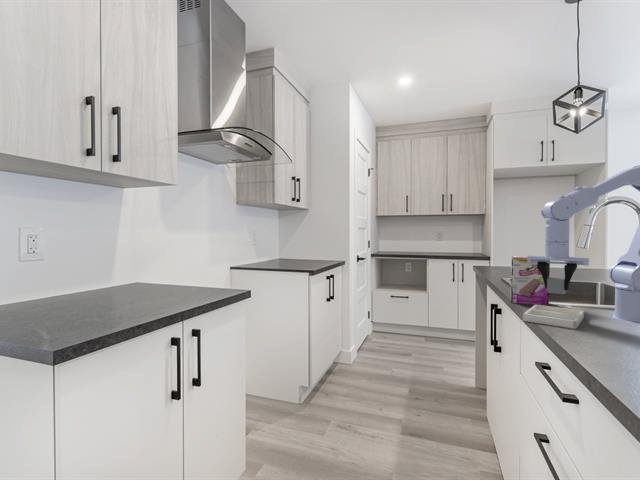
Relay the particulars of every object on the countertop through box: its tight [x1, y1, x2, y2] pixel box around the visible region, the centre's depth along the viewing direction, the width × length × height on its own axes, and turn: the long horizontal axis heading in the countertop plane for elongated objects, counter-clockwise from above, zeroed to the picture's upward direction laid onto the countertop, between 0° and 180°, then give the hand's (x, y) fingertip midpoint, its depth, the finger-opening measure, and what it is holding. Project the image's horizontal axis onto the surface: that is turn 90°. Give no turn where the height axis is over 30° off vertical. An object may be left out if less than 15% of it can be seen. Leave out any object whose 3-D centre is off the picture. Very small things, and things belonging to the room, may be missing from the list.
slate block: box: [547, 276, 567, 295], centre depth 99 cm, size 4×4×4 cm
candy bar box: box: [510, 255, 551, 306], centre depth 117 cm, size 11×5×16 cm, turn 62°
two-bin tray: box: [522, 305, 585, 330], centre depth 97 cm, size 15×12×2 cm
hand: (556, 288), depth 99 cm, fingers closed on slate block, 4 cm apart
